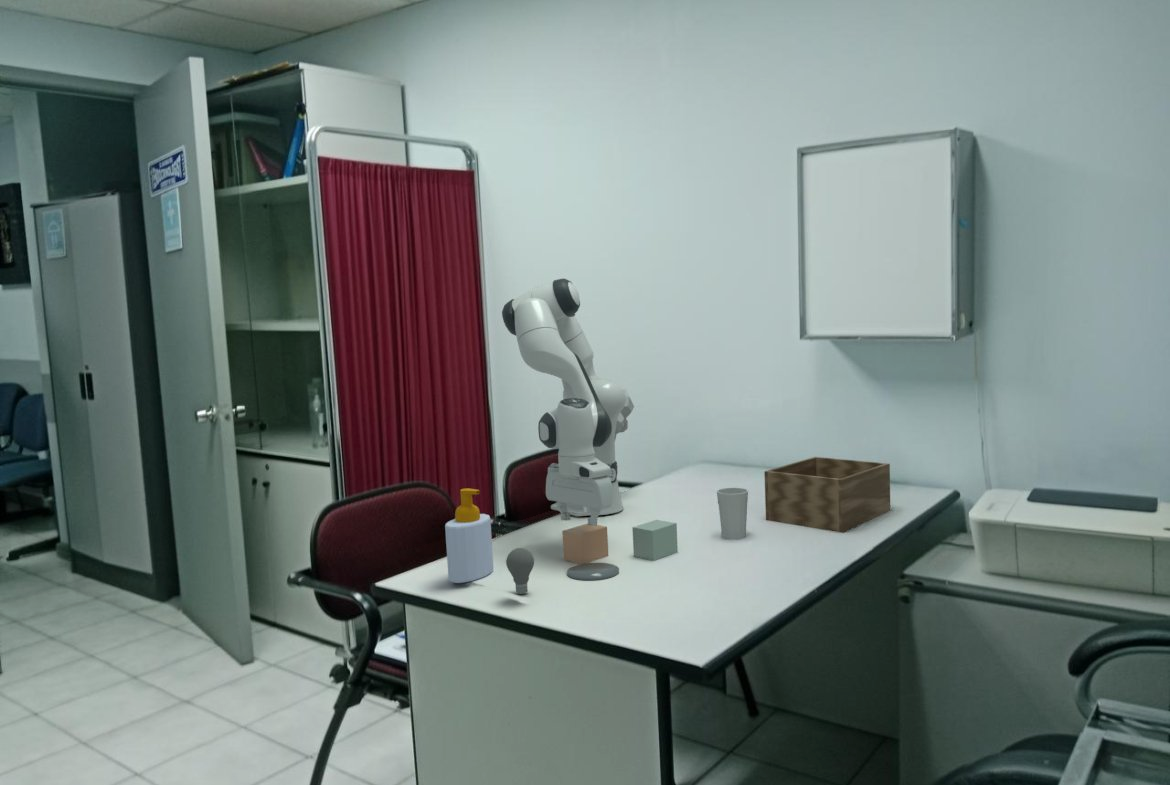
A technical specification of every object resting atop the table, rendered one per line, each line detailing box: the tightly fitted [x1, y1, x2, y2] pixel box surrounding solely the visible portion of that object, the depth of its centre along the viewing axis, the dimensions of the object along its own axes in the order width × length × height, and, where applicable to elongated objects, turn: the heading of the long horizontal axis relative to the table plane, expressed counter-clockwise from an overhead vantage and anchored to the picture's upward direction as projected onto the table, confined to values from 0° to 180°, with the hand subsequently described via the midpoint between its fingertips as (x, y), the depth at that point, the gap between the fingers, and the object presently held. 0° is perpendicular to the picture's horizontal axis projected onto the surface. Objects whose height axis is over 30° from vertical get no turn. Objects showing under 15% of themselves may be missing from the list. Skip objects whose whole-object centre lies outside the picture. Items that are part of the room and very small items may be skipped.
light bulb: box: [505, 547, 535, 595], centre depth 198 cm, size 6×6×10 cm
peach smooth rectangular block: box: [561, 522, 609, 565], centre depth 223 cm, size 6×9×7 cm
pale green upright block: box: [632, 519, 679, 561], centre depth 223 cm, size 6×9×7 cm
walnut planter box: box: [763, 456, 891, 534], centre depth 250 cm, size 23×26×14 cm
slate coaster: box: [566, 562, 620, 582], centre depth 211 cm, size 12×12×1 cm
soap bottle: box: [444, 487, 494, 584], centre depth 213 cm, size 13×8×20 cm, turn 148°
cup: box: [716, 487, 749, 541], centre depth 236 cm, size 8×8×12 cm
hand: (578, 522), depth 223 cm, fingers open, 8 cm apart
